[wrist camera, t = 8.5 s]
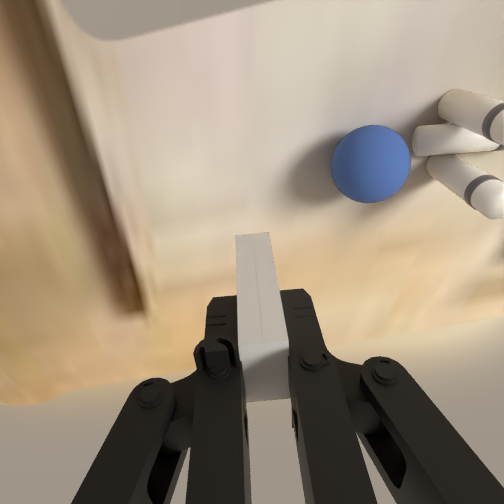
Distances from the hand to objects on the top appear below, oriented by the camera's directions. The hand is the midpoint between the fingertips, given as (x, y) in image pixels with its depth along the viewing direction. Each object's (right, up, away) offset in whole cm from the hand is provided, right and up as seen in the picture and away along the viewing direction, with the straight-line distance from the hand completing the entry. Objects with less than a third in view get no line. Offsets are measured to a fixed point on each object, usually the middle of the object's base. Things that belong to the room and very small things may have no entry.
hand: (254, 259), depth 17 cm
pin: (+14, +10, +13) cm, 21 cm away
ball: (+9, +7, +12) cm, 17 cm away
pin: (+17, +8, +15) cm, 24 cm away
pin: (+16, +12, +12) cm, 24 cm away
